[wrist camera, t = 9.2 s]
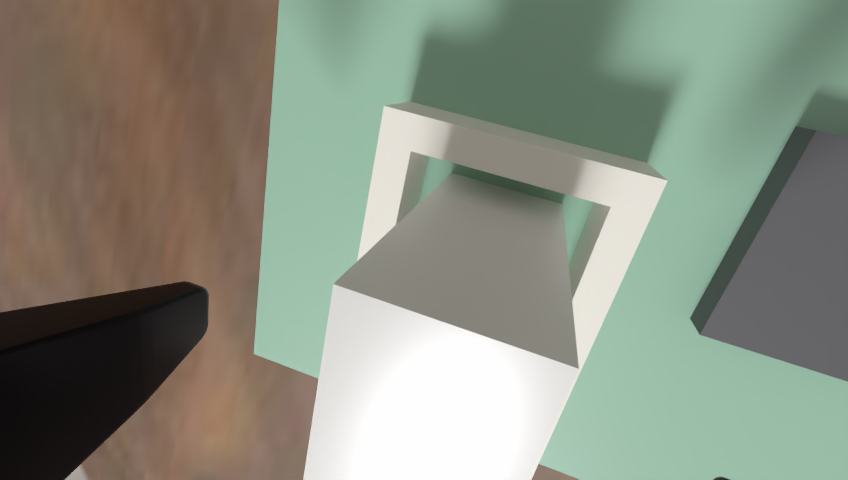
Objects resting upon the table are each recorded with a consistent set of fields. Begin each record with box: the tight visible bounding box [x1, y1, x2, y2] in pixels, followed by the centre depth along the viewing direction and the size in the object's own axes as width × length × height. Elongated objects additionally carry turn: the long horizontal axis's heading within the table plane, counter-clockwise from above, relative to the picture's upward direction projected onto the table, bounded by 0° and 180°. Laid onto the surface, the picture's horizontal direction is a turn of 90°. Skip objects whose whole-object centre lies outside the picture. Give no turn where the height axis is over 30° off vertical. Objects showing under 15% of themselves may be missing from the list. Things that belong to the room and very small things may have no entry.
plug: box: [303, 173, 579, 480], centre depth 9 cm, size 3×6×7 cm, turn 167°
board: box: [254, 0, 848, 480], centre depth 11 cm, size 20×14×3 cm
